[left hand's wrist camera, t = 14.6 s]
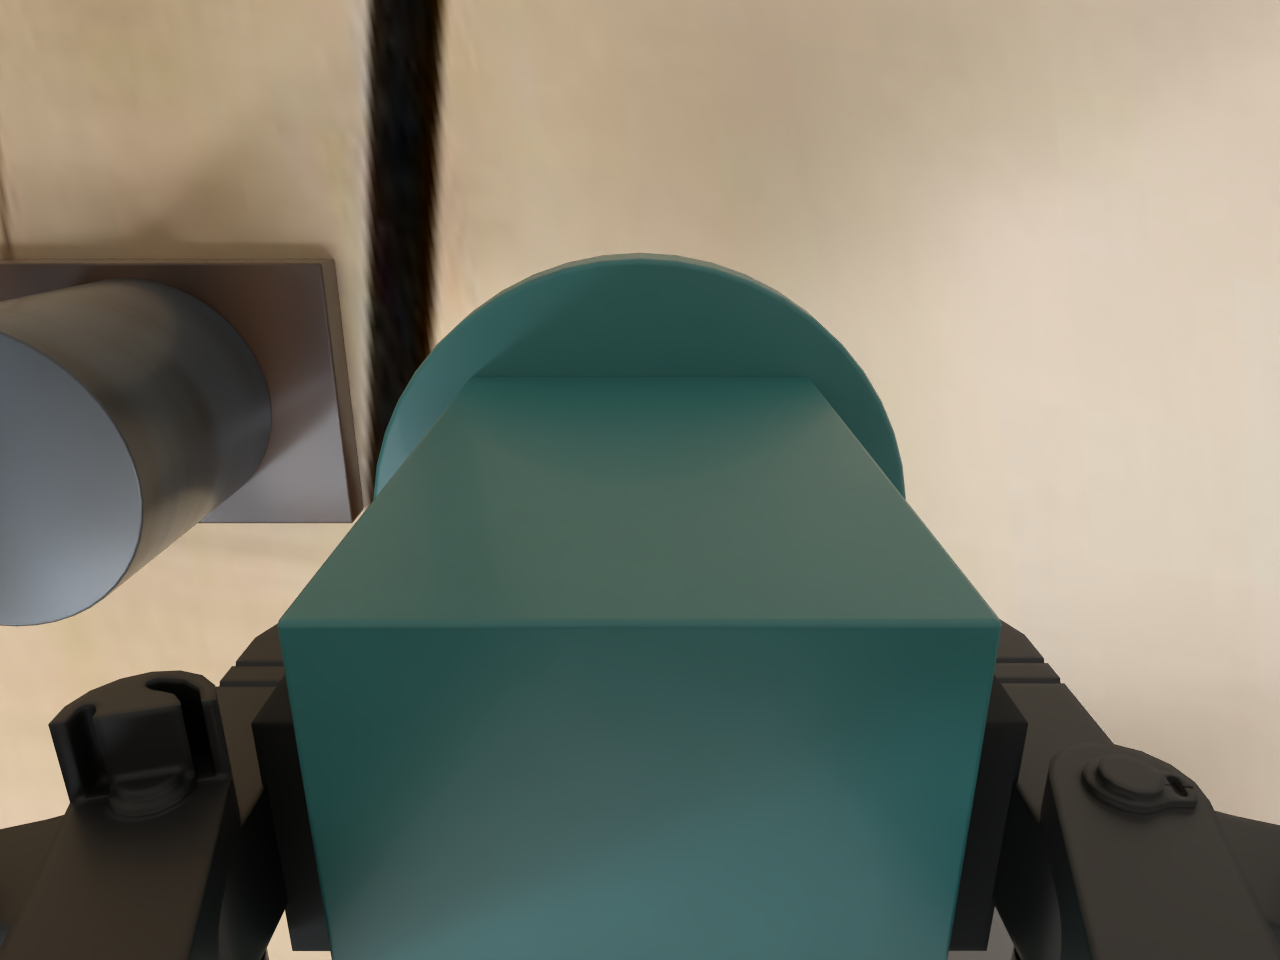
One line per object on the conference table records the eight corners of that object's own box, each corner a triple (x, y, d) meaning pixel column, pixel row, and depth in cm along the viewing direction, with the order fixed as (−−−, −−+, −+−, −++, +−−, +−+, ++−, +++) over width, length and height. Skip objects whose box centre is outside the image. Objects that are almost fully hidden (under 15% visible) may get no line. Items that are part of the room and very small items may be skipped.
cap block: (917, 252, 14) (1318, 381, 6) (867, 721, 17) (1081, 1244, 9) (361, 252, 14) (-41, 381, 6) (412, 721, 17) (198, 1243, 9)
